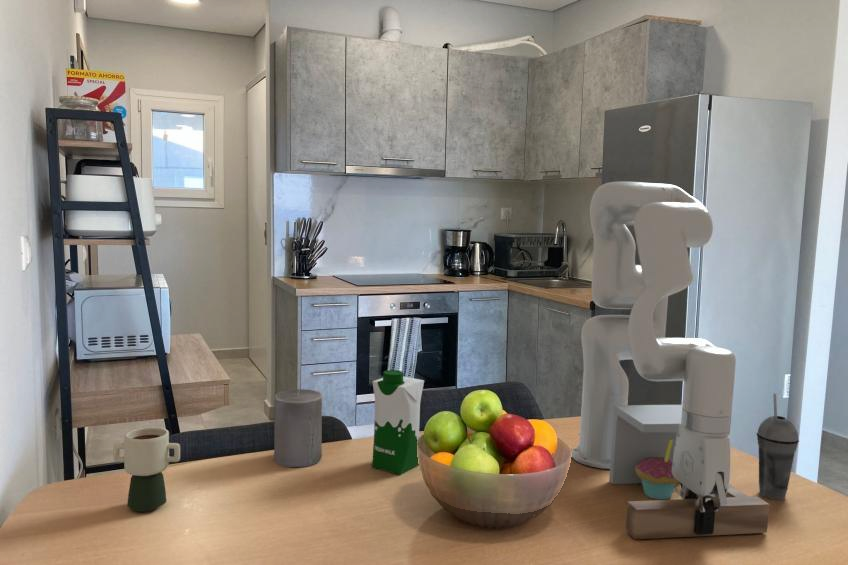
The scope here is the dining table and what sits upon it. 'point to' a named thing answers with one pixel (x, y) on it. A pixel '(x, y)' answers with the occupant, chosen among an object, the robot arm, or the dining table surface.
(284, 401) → the pillar candle
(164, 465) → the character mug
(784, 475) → the beverage cup
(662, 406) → the shelf
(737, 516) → the wooden corner bracket
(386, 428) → the milk carton
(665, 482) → the cupcake
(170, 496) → the dining table surface
